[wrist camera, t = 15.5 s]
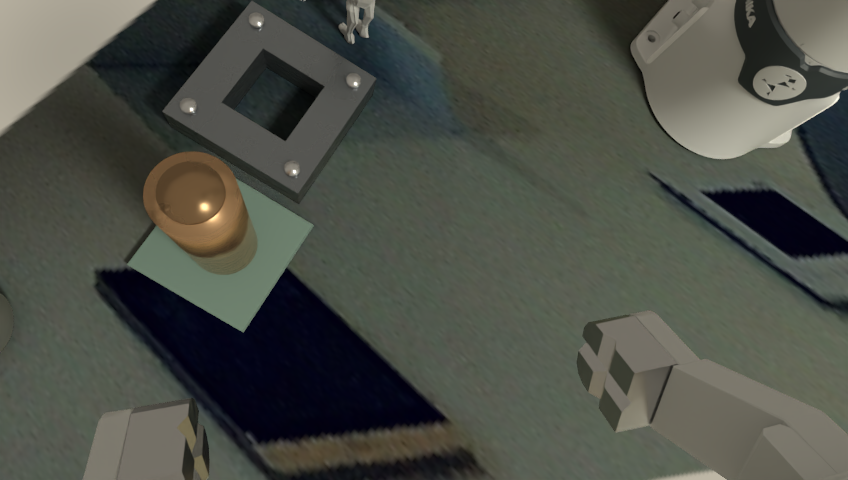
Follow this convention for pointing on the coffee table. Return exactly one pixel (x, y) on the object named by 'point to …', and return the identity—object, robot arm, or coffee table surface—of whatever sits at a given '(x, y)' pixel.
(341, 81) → the housing
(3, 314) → the plastic bottle
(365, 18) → the human figurine
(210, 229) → the copper plug
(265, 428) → the coffee table surface
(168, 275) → the mat
